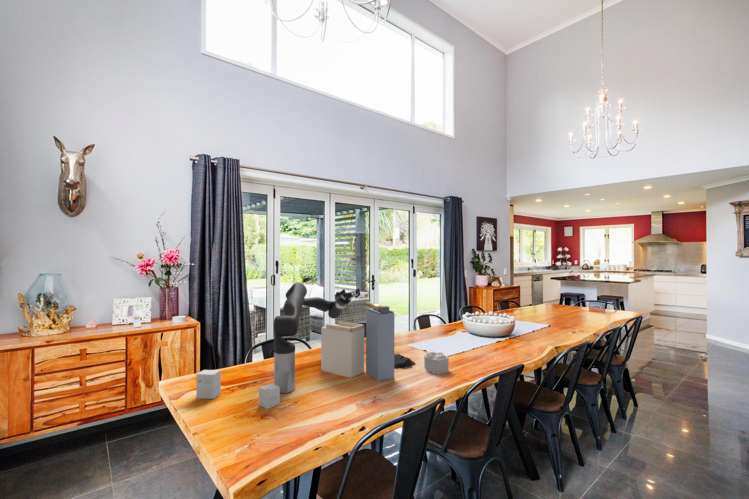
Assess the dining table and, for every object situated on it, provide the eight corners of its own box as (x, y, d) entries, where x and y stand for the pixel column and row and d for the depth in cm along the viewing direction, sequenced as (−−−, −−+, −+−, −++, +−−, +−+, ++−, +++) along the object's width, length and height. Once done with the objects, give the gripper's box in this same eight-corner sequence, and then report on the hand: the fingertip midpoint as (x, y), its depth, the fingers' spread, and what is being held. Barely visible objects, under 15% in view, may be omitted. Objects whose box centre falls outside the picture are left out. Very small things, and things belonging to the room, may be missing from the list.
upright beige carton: (364, 371, 183) (364, 324, 183) (351, 378, 174) (351, 328, 174) (334, 364, 194) (335, 320, 194) (321, 370, 185) (321, 323, 185)
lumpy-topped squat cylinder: (437, 375, 179) (437, 358, 179) (419, 368, 189) (419, 352, 189) (451, 371, 185) (451, 354, 185) (433, 364, 195) (433, 349, 195)
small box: (221, 394, 154) (221, 370, 154) (213, 399, 148) (214, 374, 148) (203, 393, 154) (203, 369, 154) (195, 398, 149) (196, 373, 149)
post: (394, 378, 174) (394, 311, 174) (377, 381, 170) (378, 312, 170) (381, 369, 186) (381, 307, 187) (365, 372, 182) (366, 308, 183)
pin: (389, 313, 174) (389, 306, 174) (380, 314, 172) (380, 307, 172) (370, 307, 194) (370, 301, 194) (362, 307, 192) (362, 301, 192)
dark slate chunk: (394, 355, 213) (394, 348, 213) (417, 365, 194) (417, 357, 194) (372, 360, 204) (373, 351, 204) (395, 370, 186) (395, 361, 186)
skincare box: (271, 400, 147) (271, 382, 147) (280, 404, 144) (280, 386, 144) (258, 405, 143) (258, 387, 143) (267, 409, 139) (267, 390, 139)
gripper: (330, 295, 207) (338, 284, 194) (352, 294, 213) (362, 283, 200) (332, 307, 204) (340, 297, 191) (354, 305, 210) (364, 295, 197)
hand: (351, 290), depth 196 cm, fingers open, 8 cm apart
